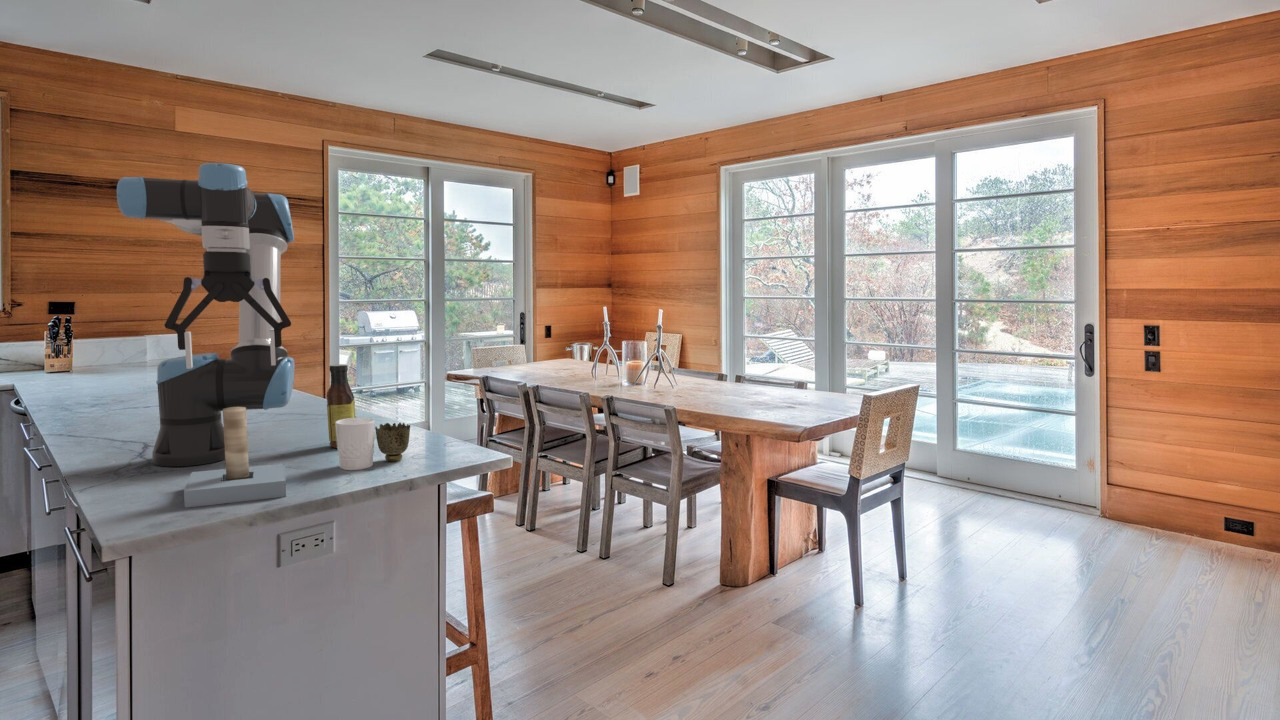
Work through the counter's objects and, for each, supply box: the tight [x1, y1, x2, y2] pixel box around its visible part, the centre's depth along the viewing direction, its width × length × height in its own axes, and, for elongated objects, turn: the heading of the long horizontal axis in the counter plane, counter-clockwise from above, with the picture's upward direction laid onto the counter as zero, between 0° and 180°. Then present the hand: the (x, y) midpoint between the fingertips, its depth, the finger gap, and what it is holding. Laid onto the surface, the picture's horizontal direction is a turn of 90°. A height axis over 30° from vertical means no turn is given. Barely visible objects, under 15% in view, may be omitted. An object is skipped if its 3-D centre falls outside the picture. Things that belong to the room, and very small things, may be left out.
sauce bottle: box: [326, 363, 356, 449], centre depth 174 cm, size 6×6×20 cm
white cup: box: [335, 417, 376, 471], centre depth 156 cm, size 8×8×10 cm
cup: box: [374, 422, 411, 463], centre depth 161 cm, size 8×7×8 cm
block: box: [183, 463, 287, 509], centre depth 136 cm, size 14×16×3 cm
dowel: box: [222, 407, 250, 481], centre depth 136 cm, size 4×4×16 cm
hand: (232, 366), depth 134 cm, fingers open, 13 cm apart
